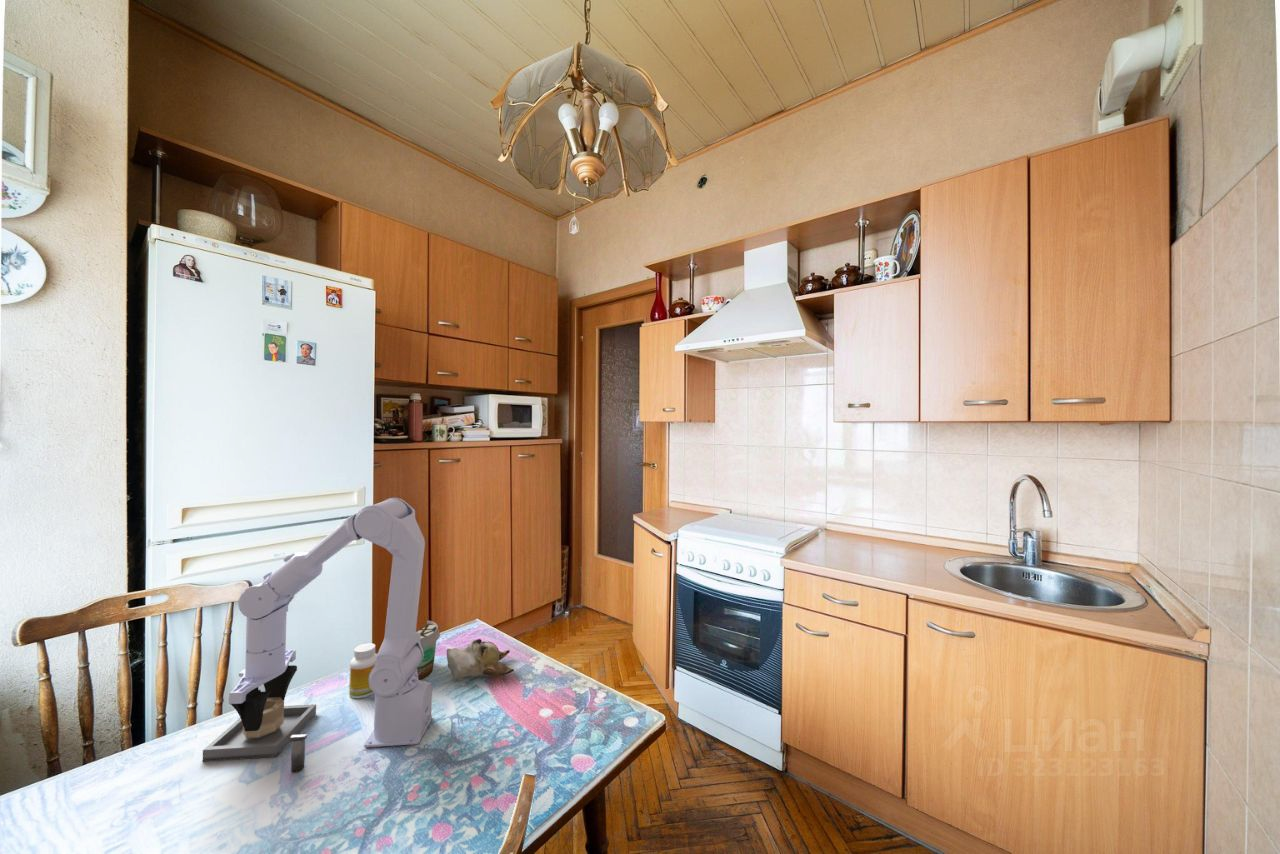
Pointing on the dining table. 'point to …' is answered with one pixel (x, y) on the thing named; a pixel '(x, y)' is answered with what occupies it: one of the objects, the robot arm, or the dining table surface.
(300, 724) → the tray
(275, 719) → the ring
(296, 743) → the stake
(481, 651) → the ceramic sculpture
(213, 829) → the dining table surface
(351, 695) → the supplement bottle
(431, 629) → the food container
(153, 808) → the dining table surface
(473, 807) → the dining table surface
